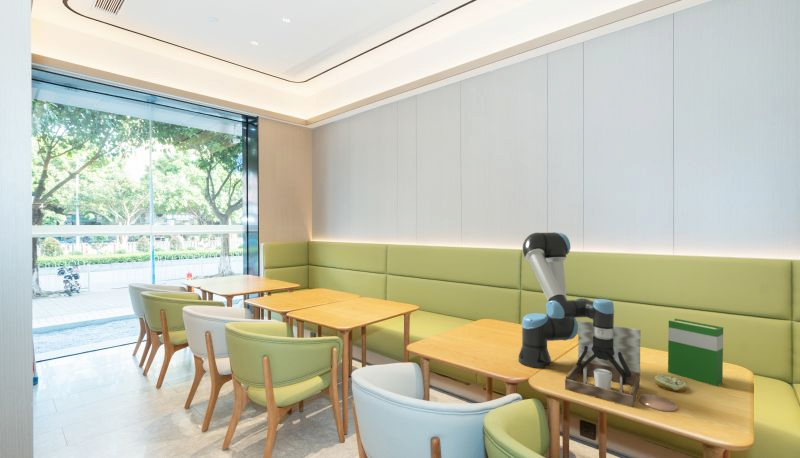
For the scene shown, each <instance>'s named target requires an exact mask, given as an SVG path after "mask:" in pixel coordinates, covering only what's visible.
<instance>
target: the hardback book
mask: <svg viewBox="0 0 800 458" xmlns="http://www.w3.org/2000/svg"><path fill="white" fill-rule="evenodd" d="M667 334H668V340H667V341H668V346H667V348H668V349H667V350H668V351H667V352H668V353H667V360H668V361H667V373H669V374H671V375H676V376H679V377H682V378H686V379H689V380H693V381H695V382H700V383H703V384H706V385H709V386H713V387H718V386H719V385H721V384H722V383H723V380H724V379H723V376H724V375H723V374H724V373H723V372H724V371H723V369H724V366H723V365H724V362H723V361H724V327H723V326H716V325H712V324H709V323H708V324H707V323H701V322H696V321H690V320H685V319H680V318H674V321H673V320H668V333H667Z"/></svg>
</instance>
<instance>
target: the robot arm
mask: <svg viewBox="0 0 800 458" xmlns="http://www.w3.org/2000/svg"><path fill="white" fill-rule="evenodd" d="M570 251H571V242H570V239H569V238H568V236H567V235H566V234H565V233H562V232H555V231H554V232H534V233H530V234H529V235H527V237H526V238H525V239H524V241H523V243H522V254H523V257H524V259H525V260H526V261H527V262H528V263H529V264H530V267H531V270H532V271H533V272H534V274H535V277H536V279H537V281H538V283H539V286H540V288H541V289H542V292H543V294H544V296H545V298H546V300H547V302H546V304H545V310H546V311H545V312H546V314H544V313H539V312H538V313H537V312H536V313H528V314H526V315H524V316H523V317H522V322H521V326H522V327H521V328H522V330H521V333H522V334H521V336H522V339H521V344H522V346H521V348H520V349H519V350H520V351H519V353H518V362H519V363H520V364H521V365H524V366H527V367H530V368H537V369H539V368H540V369H543V368H548V367H550V366H551V365H552V359H551V355H550V353H549V350H548V349H549V348H548V342H551V341H552V342H553V341H554V342H555V341H567V340H573V339H574V338H575V337H576V336H578V335H577V334H578V327H579V322H578V320H577V318H588V319H591V320H592V323H593V335H594V336H593V347H591V346H589V345H586V346H585V347H584V352H583V353H582V355H581V356H580V358H579V360H578V359H577V361H576V364H575V365H577V366H580V367H581V374H580V375H581V376H582V377H583V378H582V383H585V384H587V381H588V380H587V377H588V375H587V367H585V366H586V365H587V364H588V363H590V362H591V361H592V360H593V359H594V358H596V357H597V358H598V359H603V360H609V361H610V362H611V363H612V364H613V365H614V367H615V368H616V369H617V371H618V372H619V373H620V374H621V376H620V383H619V392H621V393H624V392H623V391H624V386H626V377H631V372H630V370H629V368H628V366H627V364H626V362H625V360H624V358H623V354H622V351H614V349H613V337H614V328H613V326H615V325H614V319H615V318H614V317H615V308H614V302H613V301H612V300H610V299H605V298H595V299H593V300H591V299H588V298H583V297H579V298H576V299H575V300H574V299H571V300H568V298H567V286H566V277H565V264H564V261H565V260H566V259H567V255H568V254H570ZM590 350H592V351H593V353H594V354H593V355H592V356H591V357H590V358H589V359H587V360H586V361H585V362H584V363H583V364H582V363H581V361H582V360H583V358H584V357H585V355H586V353H587V352H588V351H590ZM614 354H616V356H617V357H618V358H619V360H620V362H621V364H622V366H623V368H624V370H625V372H626V373H625V372H624V370H623V369H622V368H621V367H620V365H619V364H618V363H617V362H616V360H615V359H614V357H613V355H614Z"/></svg>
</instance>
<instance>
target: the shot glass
mask: <svg viewBox="0 0 800 458" xmlns="http://www.w3.org/2000/svg"><path fill="white" fill-rule="evenodd" d="M593 378H594V379H593V380H594V386H597V387H601V388H605V389H609V390H611V388H612V381H611V380H612V372H610V371H608V370H605V369H594V377H593Z"/></svg>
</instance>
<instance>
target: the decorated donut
mask: <svg viewBox="0 0 800 458" xmlns="http://www.w3.org/2000/svg"><path fill="white" fill-rule="evenodd" d="M654 382H655V384H656V385H657V386H658V387H659V388H661V389H664V390H667V391H671V392H672V391H673V392H679V393H680V392H681V393H682V392H686V389H687V383H686V382H685V381H684V380H682V379H680V378H678V377H675V376H671V375H667V374H657V375H656V376H654Z"/></svg>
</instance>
